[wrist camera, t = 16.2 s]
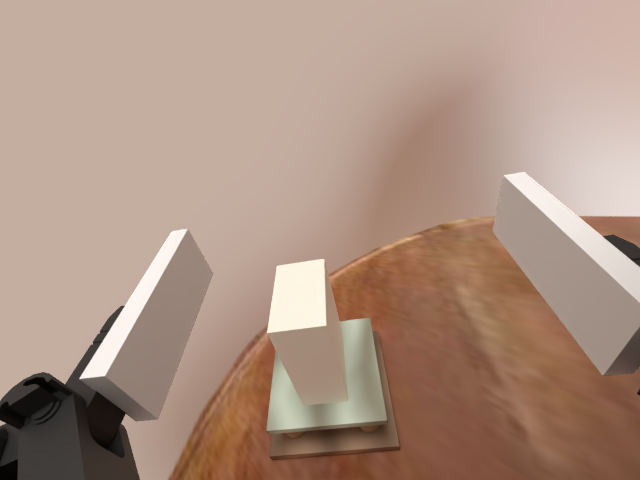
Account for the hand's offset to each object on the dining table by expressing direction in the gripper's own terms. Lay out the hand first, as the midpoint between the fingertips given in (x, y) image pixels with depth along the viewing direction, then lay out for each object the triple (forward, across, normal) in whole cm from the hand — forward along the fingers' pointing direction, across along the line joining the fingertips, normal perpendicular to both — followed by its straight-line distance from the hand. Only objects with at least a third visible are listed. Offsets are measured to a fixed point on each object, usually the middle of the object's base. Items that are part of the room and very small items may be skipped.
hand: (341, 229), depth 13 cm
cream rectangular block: (+11, -6, -30) cm, 32 cm away
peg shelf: (+11, -6, -36) cm, 38 cm away
